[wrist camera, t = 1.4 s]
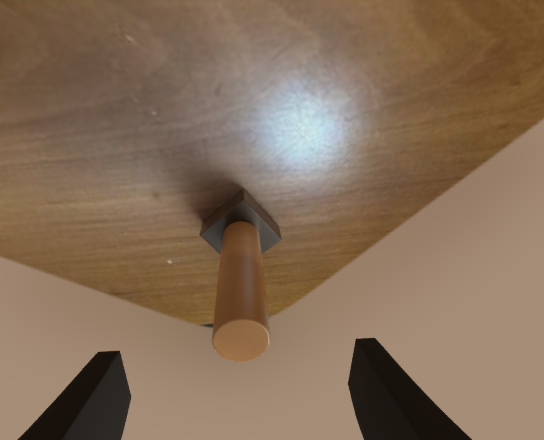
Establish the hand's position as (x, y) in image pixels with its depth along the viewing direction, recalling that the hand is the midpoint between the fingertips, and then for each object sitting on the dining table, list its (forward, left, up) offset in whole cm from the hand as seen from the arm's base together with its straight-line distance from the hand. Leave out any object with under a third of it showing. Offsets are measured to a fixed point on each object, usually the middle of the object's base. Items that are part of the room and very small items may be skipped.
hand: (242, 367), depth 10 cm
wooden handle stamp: (0, 0, -10) cm, 10 cm away
